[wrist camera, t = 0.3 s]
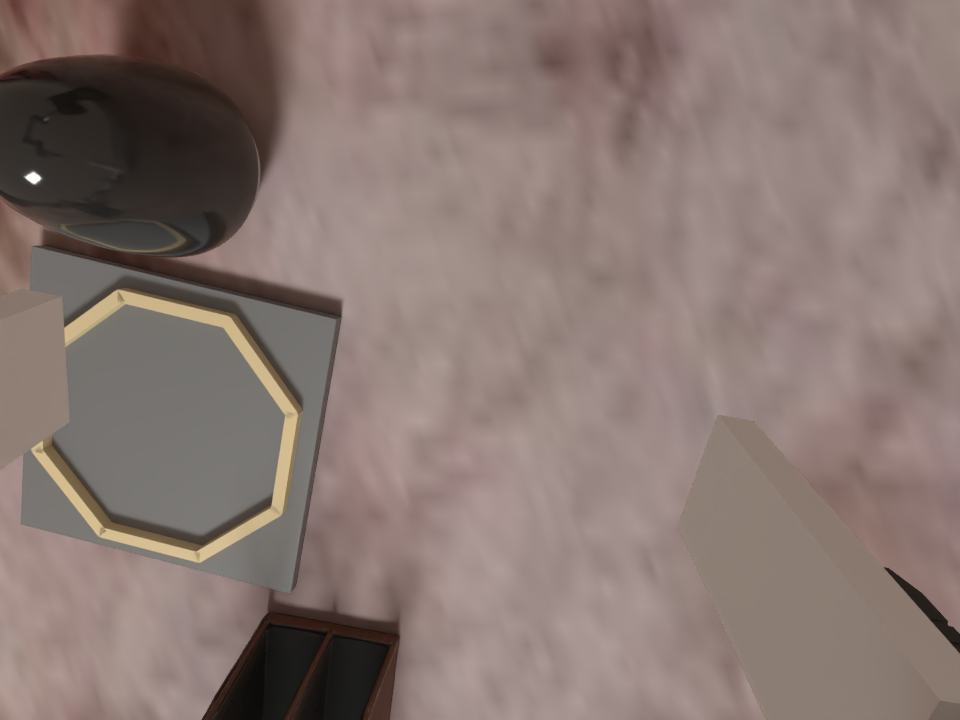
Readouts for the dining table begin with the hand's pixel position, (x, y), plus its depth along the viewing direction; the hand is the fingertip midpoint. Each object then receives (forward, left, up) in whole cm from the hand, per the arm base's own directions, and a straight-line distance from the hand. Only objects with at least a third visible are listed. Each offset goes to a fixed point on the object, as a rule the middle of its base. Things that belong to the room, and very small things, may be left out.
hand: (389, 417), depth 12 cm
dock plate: (+14, -19, -26) cm, 35 cm away
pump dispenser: (-3, -19, -26) cm, 32 cm away
